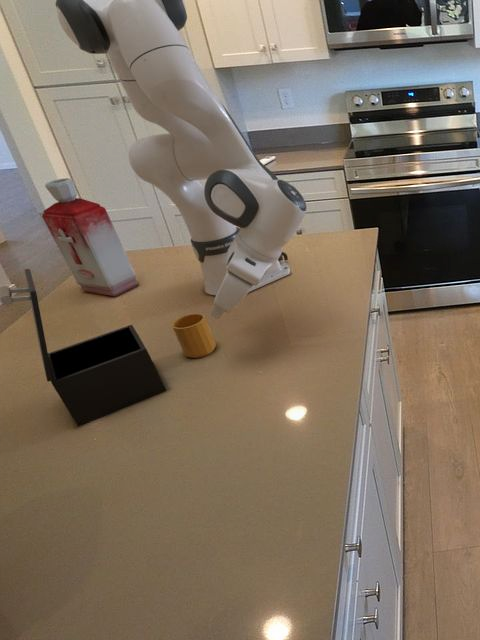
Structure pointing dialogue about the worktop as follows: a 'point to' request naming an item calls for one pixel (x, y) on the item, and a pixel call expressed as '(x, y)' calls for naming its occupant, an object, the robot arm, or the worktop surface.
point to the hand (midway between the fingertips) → (219, 305)
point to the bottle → (88, 241)
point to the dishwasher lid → (6, 298)
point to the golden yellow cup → (194, 335)
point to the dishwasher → (104, 374)
